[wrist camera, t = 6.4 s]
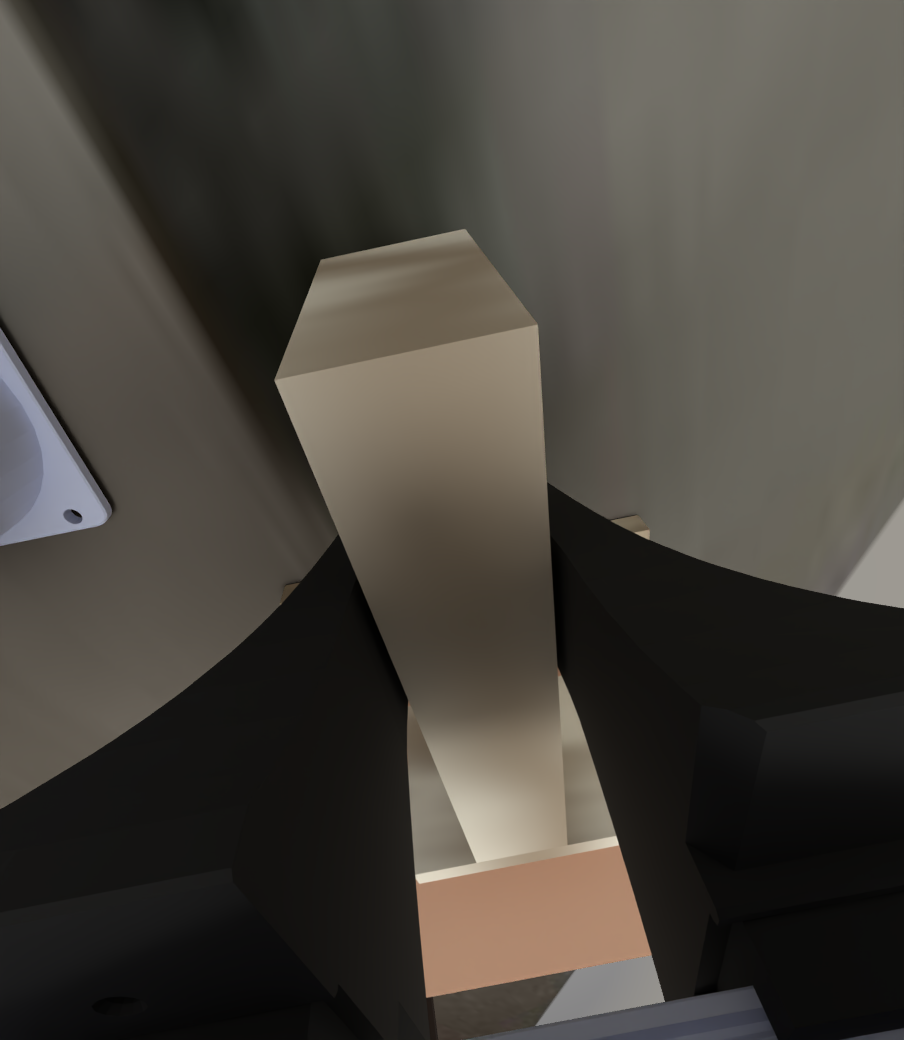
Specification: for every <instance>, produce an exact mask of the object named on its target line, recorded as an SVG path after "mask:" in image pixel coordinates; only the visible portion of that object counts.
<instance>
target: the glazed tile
mask: <svg viewBox="0 0 904 1040" xmlns="http://www.w3.org/2000/svg"><path fill="white" fill-rule="evenodd" d="M557 669H558V667H557ZM558 676H561V673H560V671H559V669H558ZM408 706H411V705H410V703H409V700H408ZM407 759H408V754H407ZM416 889H417V901H418V913H419V925H420V937H421V947H422V958H423V968H424V979H425V989H426V998H428V997H433V996H438V995H444V994H449V993H454V992H460V991H465V990H470V989H475V988H481V987H486V986H491V985H497V984H502V983H507V982H512V981H518V980H523V979H528V978H534V977H539V976H544V975H549V974H555V973H560V972H565V971H571V970H576V969H581V968H586V967H592V966H597V965H602V964H608V963H613V962H618V961H623V960H629V959H634V958H639V957H644V956H650V955H652V954H651V951H650V947H649V944H648V941H647V937H646V934H645V930H644V927H643V924H642V920H641V917H640V913H639V910H638V906H637V903H636V900H635V896H634V893H633V890H632V886H631V883H630V880H629V876H628V873H627V870H626V866H625V863H624V860H623V856H622V853H621V850H620V847H619V845H618V846H613V847H608V848H603V849H598V850H592V851H587V852H582V853H577V854H572V855H566V856H561V857H556V858H551V859H546V860H540V861H535V862H530V863H525V864H520V865H515V866H509V867H504V868H499V869H494V870H489V871H483V872H478V873H473V874H468V875H463V876H457V877H452V878H447V879H442V880H437V881H432V882H426V883H421V884H419V883H418V881H417V880H416Z"/></svg>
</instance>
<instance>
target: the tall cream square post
mask: <svg viewBox="0 0 904 1040" xmlns="http://www.w3.org/2000/svg"><path fill="white" fill-rule="evenodd" d="M275 383H276V385H277V387H278V390H279V392H280V395H281V397H282V399H283V402H284V404H285V407H286V409H287V411H288V414H289V416H290V418H291V421H292V423H293V426H294V428H295V430H296V433H297V435H298V438H299V440H300V442H301V445H302V447H303V450H304V452H305V454H306V457H307V459H308V461H309V464H310V466H311V469H312V471H313V473H314V476H315V478H316V481H317V483H318V485H319V488H320V490H321V493H322V495H323V497H324V500H325V502H326V504H327V507H328V509H329V512H330V514H331V516H332V519H333V521H334V524H335V526H336V528H337V531H338V533H339V536H340V538H341V540H342V543H343V545H344V547H345V550H346V552H347V555H348V557H349V559H350V562H351V564H352V567H353V569H354V571H355V574H356V576H357V579H358V581H359V583H360V586H361V588H362V590H363V593H364V595H365V598H366V600H367V602H368V605H369V607H370V610H371V612H372V614H373V617H374V619H375V622H376V624H377V626H378V629H379V631H380V633H381V636H382V638H383V641H384V643H385V645H386V648H387V650H388V653H389V655H390V657H391V660H392V662H393V665H394V667H395V669H396V672H397V674H398V676H399V679H400V681H401V684H402V686H403V688H404V691H405V693H406V696H407V698H408V700H409V703H410V705H411V706H408V720H407V754H408V776H409V793H410V809H411V823H412V837H413V851H414V865H415V877H416V880H417V881H418V883H419V884H421V883H426V882H432V881H437V880H442V879H447V878H452V877H457V876H463V875H468V874H473V873H478V872H483V871H489V870H494V869H499V868H504V867H509V866H515V865H520V864H525V863H530V862H535V861H540V860H546V859H551V858H556V857H561V856H566V855H572V854H577V853H582V852H587V851H592V850H598V849H603V848H608V847H613V846H618V845H619V843H618V840H617V837H616V833H615V830H614V827H613V823H612V820H611V817H610V814H609V811H608V808H607V804H606V801H605V798H604V795H603V792H602V788H601V785H600V782H599V779H598V776H597V772H596V769H595V766H594V763H593V760H592V757H591V754H590V751H589V747H588V744H587V741H586V738H585V735H584V732H583V729H582V726H581V723H580V720H579V717H578V714H577V712H576V709H575V707H574V704H573V701H572V699H571V696H570V694H569V692H568V689H567V687H566V685H565V683H564V680H563V678H562V676H558V669H557V651H556V634H555V616H554V599H553V581H552V564H551V546H550V528H549V511H548V493H547V476H546V458H545V441H544V423H543V405H542V388H541V370H540V353H539V335H538V324H537V323H536V321H535V320H534V319H533V317H532V316H531V315H530V313H529V312H528V311H527V310H526V308H525V307H524V306H523V304H522V303H521V302H520V300H519V299H518V298H517V296H516V295H515V294H514V293H513V291H512V290H511V289H510V287H509V286H508V285H507V283H506V282H505V281H504V279H503V278H502V277H501V275H500V274H499V273H498V272H497V270H496V269H495V268H494V266H493V265H492V264H491V262H490V261H489V260H488V258H487V257H486V256H485V255H484V253H483V252H482V251H481V249H480V248H479V247H478V245H477V244H476V243H475V241H474V240H473V239H472V237H471V236H470V235H469V234H468V232H467V231H466V230H465V229H462V230H458V231H453V232H448V233H444V234H439V235H434V236H430V237H425V238H420V239H416V240H411V241H406V242H402V243H397V244H392V245H388V246H383V247H378V248H374V249H369V250H364V251H360V252H355V253H351V254H346V255H341V256H337V257H332V258H327V259H323V260H321V261H320V264H319V266H318V269H317V271H316V274H315V277H314V279H313V282H312V284H311V287H310V289H309V292H308V295H307V297H306V300H305V302H304V305H303V308H302V310H301V313H300V315H299V318H298V320H297V323H296V326H295V328H294V331H293V333H292V336H291V339H290V341H289V344H288V346H287V349H286V351H285V354H284V357H283V359H282V362H281V364H280V367H279V370H278V372H277V375H276V377H275Z"/></svg>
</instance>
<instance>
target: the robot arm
mask: <svg viewBox="0 0 904 1040" xmlns="http://www.w3.org/2000/svg"><path fill="white" fill-rule="evenodd" d="M547 493H548V511H549V528H550V546H551V564H552V581H553V599H554V616H555V634H556V651H557V667H558V669H559V671H560V673H561V676H562V678H563V680H564V683H565V685H566V687H567V689H568V692H569V694H570V696H571V699H572V701H573V704H574V707H575V709H576V712H577V714H578V717H579V720H580V723H581V726H582V729H583V732H584V735H585V738H586V741H587V744H588V747H589V751H590V754H591V757H592V760H593V763H594V766H595V769H596V772H597V776H598V779H599V782H600V785H601V788H602V792H603V795H604V798H605V801H606V804H607V808H608V811H609V814H610V817H611V820H612V823H613V827H614V830H615V833H616V837H617V840H618V843H619V847H620V850H621V853H622V856H623V860H624V863H625V866H626V870H627V873H628V876H629V880H630V883H631V886H632V890H633V893H634V896H635V900H636V903H637V906H638V910H639V913H640V917H641V920H642V924H643V927H644V930H645V934H646V937H647V941H648V944H649V947H650V951H651V954H652V958H653V961H654V965H655V968H656V971H657V975H658V978H659V982H660V985H661V989H662V992H663V996H664V1000H665V1002H663V1003H658V1004H652V1005H647V1006H641V1007H636V1008H630V1009H625V1010H620V1011H615V1012H609V1013H604V1014H598V1015H593V1016H588V1017H582V1018H577V1019H572V1020H567V1021H561V1022H555V1023H550V1024H545V1025H539V1026H534V1027H529V1028H523V1029H518V1030H513V1031H507V1032H502V1033H497V1034H491V1035H486V1036H481V1037H475V1038H470V1039H465V1040H904V608H897V607H892V606H885V605H879V604H873V603H867V602H861V601H856V600H851V599H846V598H841V597H836V596H832V595H827V594H823V593H818V592H814V591H809V590H805V589H800V588H796V587H791V586H787V585H783V584H780V583H776V582H772V581H768V580H764V579H760V578H757V577H753V576H750V575H747V574H743V573H740V572H737V571H733V570H730V569H727V568H723V567H720V566H717V565H714V564H711V563H708V562H705V561H702V560H699V559H696V558H693V557H691V556H688V555H685V554H683V553H680V552H678V551H675V550H673V549H670V548H668V547H665V546H662V545H660V544H658V543H655V542H653V541H651V540H648V539H646V538H644V537H642V536H640V535H638V534H636V533H634V532H632V531H630V530H628V529H626V528H623V527H621V526H619V525H617V524H615V523H614V522H612V521H610V520H608V519H606V518H604V517H602V516H601V515H599V514H597V513H595V512H594V511H592V510H590V509H589V508H587V507H585V506H583V505H582V504H580V503H579V502H577V501H575V500H574V499H572V498H571V497H569V496H567V495H566V494H564V493H563V492H561V491H560V490H558V489H557V488H555V487H553V486H552V485H550V484H549V483H547ZM71 509H73V510H75V511H78V512H79V513H80V514H81V516H82V517H78V516H75V515H74V514H73V513H72V512H71ZM111 514H112V509H111V506H110V504H109V503H108V501H107V499H106V498H105V496H104V495H103V493H102V491H101V490H100V488H99V486H98V485H97V483H96V482H95V480H94V478H93V477H92V475H91V474H90V472H89V470H88V469H87V467H86V465H85V464H84V462H83V461H82V459H81V457H80V456H79V454H78V452H77V451H76V449H75V448H74V446H73V444H72V443H71V441H70V440H69V438H68V436H67V435H66V433H65V431H64V430H63V428H62V427H61V425H60V423H59V422H58V420H57V419H56V417H55V415H54V414H53V412H52V410H51V409H50V407H49V406H48V404H47V402H46V401H45V399H44V397H43V396H42V394H41V393H40V391H39V389H38V388H37V386H36V385H35V383H34V381H33V380H32V378H31V376H30V375H29V373H28V372H27V370H26V368H25V367H24V365H23V364H22V362H21V360H20V359H19V357H18V355H17V354H16V352H15V351H14V349H13V347H12V346H11V344H10V343H9V341H8V339H7V338H6V336H5V334H4V333H3V331H2V330H1V328H0V546H3V545H8V544H13V543H18V542H23V541H28V540H32V539H37V538H42V537H47V536H52V535H57V534H62V533H67V532H72V531H77V530H82V529H87V528H92V527H97V526H100V525H102V524H104V523H105V522H106V521H107V520H108V519H109V517H110V516H111ZM407 720H408V698H407V696H406V693H405V691H404V688H403V686H402V684H401V681H400V679H399V676H398V674H397V672H396V669H395V667H394V665H393V662H392V660H391V657H390V655H389V653H388V650H387V648H386V645H385V643H384V641H383V638H382V636H381V633H380V631H379V629H378V626H377V624H376V622H375V619H374V617H373V614H372V612H371V610H370V607H369V605H368V602H367V600H366V598H365V595H364V593H363V590H362V588H361V586H360V583H359V581H358V579H357V576H356V574H355V571H354V569H353V567H352V564H351V562H350V559H349V557H348V555H347V552H346V550H345V547H344V545H343V543H342V540H341V538H340V536H339V535H338V536H337V537H336V539H335V540H334V541H333V543H332V544H331V545H330V546H329V548H328V549H327V550H326V552H325V553H324V554H323V555H322V557H321V558H320V559H319V561H318V562H317V563H316V564H315V566H314V567H313V568H312V569H311V571H310V572H309V573H308V574H307V575H306V576H305V578H304V579H303V580H302V581H301V582H300V583H299V584H298V586H297V587H296V588H295V589H294V590H293V591H292V592H291V594H290V595H289V596H288V597H287V598H286V599H285V600H284V602H283V603H282V604H281V605H280V606H279V607H278V608H277V609H276V610H275V611H274V612H273V613H272V614H271V615H270V616H269V617H268V618H267V619H266V620H265V621H264V622H263V623H262V624H261V625H260V626H259V627H258V628H257V629H256V630H255V631H254V632H253V633H252V634H251V635H250V636H248V637H247V638H246V639H245V640H244V641H243V642H242V643H241V644H240V645H239V646H238V647H236V648H235V649H234V650H233V651H232V652H231V653H230V654H228V655H227V656H226V657H225V658H223V659H222V660H221V661H220V662H219V663H217V664H216V665H215V666H214V667H212V668H211V669H210V670H209V671H207V672H206V673H205V674H204V675H202V676H201V677H200V678H199V679H197V680H196V681H195V682H194V683H193V684H191V685H190V686H189V687H188V688H186V689H185V690H184V691H183V692H181V693H180V694H179V695H177V696H176V697H175V698H173V699H172V700H170V701H169V702H168V703H166V704H165V705H164V706H162V707H161V708H159V709H158V710H157V711H155V712H154V713H152V714H151V715H150V716H148V717H147V718H145V719H144V720H142V721H141V722H140V723H138V724H137V725H135V726H134V727H132V728H131V729H129V730H128V731H126V732H125V733H123V734H122V735H120V736H119V737H118V738H116V739H115V740H113V741H111V742H110V743H108V744H107V745H105V746H104V747H102V748H101V749H99V750H98V751H96V752H95V753H93V754H91V755H90V756H88V757H87V758H85V759H83V760H82V761H80V762H78V763H77V764H75V765H73V766H72V767H70V768H68V769H67V770H65V771H64V772H62V773H60V774H59V775H57V776H55V777H54V778H52V779H50V780H49V781H47V782H45V783H44V784H42V785H41V786H39V787H37V788H36V789H34V790H32V791H31V792H29V793H27V794H26V795H24V796H22V797H21V798H19V799H17V800H16V801H14V802H12V803H11V804H9V805H7V806H5V807H4V808H2V809H0V1040H431V1039H430V1030H429V1020H428V1010H427V1000H426V989H425V979H424V968H423V958H422V947H421V937H420V925H419V913H418V901H417V889H416V877H415V865H414V851H413V837H412V823H411V809H410V793H409V776H408V759H407Z"/></svg>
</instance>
